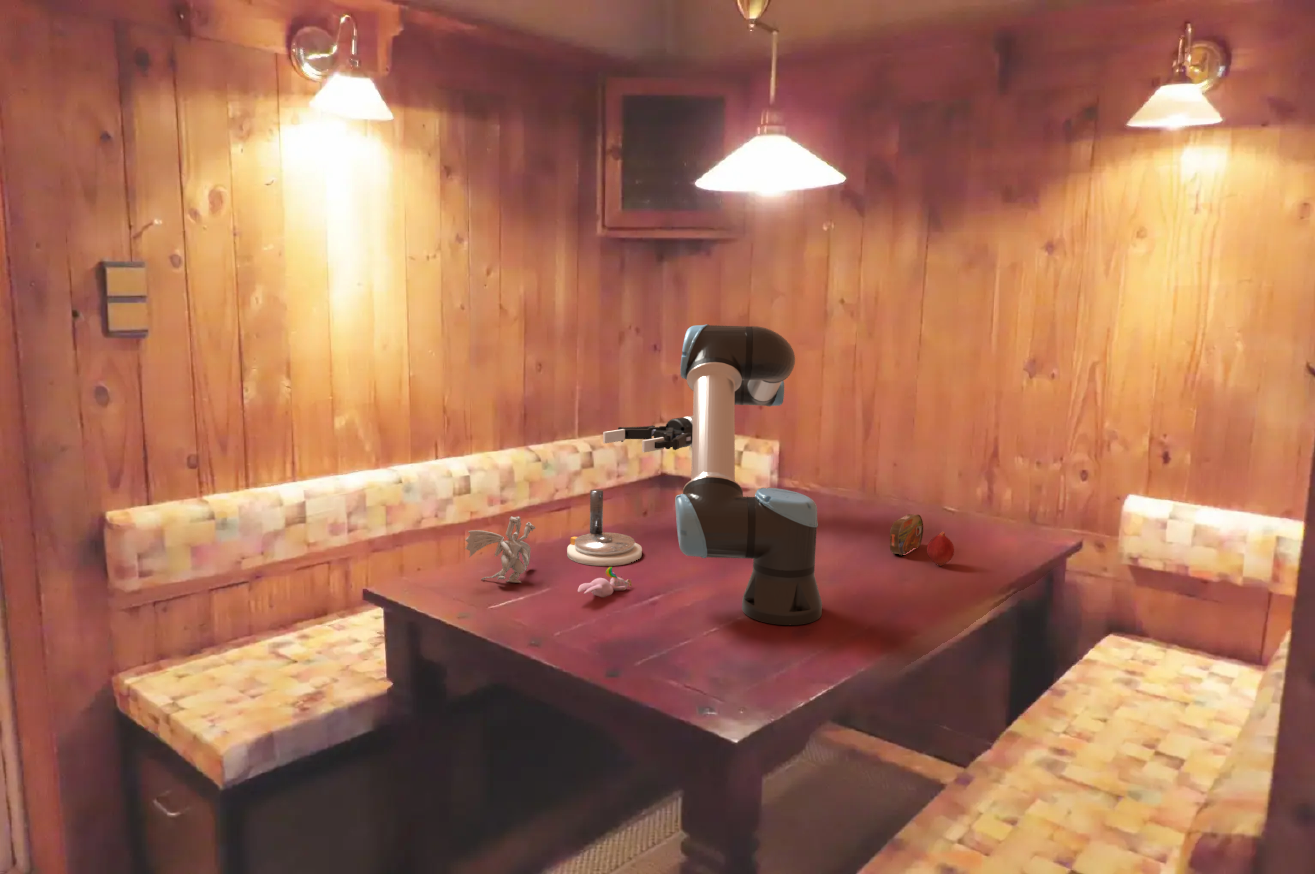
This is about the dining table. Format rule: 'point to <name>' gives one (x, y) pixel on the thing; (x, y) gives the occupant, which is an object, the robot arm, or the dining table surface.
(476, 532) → the grey dragon figurine
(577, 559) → the dial base
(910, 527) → the tin
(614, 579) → the rabbit figure
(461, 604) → the dining table surface
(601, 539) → the dial
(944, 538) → the onion
